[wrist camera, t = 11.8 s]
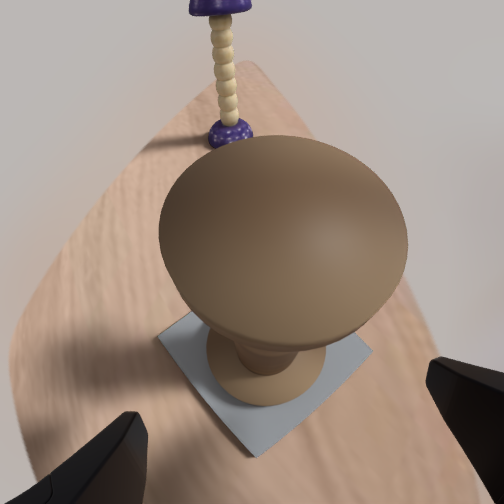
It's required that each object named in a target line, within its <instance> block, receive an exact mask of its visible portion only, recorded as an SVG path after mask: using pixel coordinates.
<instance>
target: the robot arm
mask: <svg viewBox="0 0 504 504" xmlns="http://www.w3.org/2000/svg"><path fill="white" fill-rule="evenodd" d="M426 386H427V388H428V390H429V392H430V394H431V396H432V398H433V400H434V402H435V404H436V406H437V408H438V410H439V412H440V414H441V415H442V417H443V419H444V421H445V422H446V424H447V426H448V427H449V429H450V430H451V432H452V433H453V435H454V436H455V438H456V439H457V441H458V443H459V444H460V446H461V447H462V449H463V451H464V452H465V454H466V455H467V457H468V459H469V460H470V462H471V464H472V465H473V467H474V469H475V470H476V472H477V474H478V475H479V477H480V479H481V480H482V482H483V484H484V485H485V487H486V489H487V491H488V492H489V494H490V496H491V498H492V500H493V501H494V503H496V504H504V373H503V372H499V371H495V370H491V369H487V368H483V367H479V366H475V365H471V364H468V363H464V362H460V361H456V360H453V359H449V358H446V357H438V358H435V359H432V360H431V361H430V363H429V367H428V372H427V376H426ZM147 448H148V433H147V430H146V427H145V425H144V423H143V421H142V418H141V416H140V414H139V413H138V412H135V411H126V412H124V413H122V414H121V415H120V416H119V417H118V418H116V419H115V420H114V421H113V422H112V423H111V424H109V425H108V426H107V427H106V428H105V429H103V430H102V431H101V432H100V433H99V434H97V435H96V436H95V437H94V438H93V439H91V440H90V441H89V442H88V443H87V444H85V445H84V446H83V447H82V448H81V449H79V450H78V451H77V452H76V453H75V454H73V455H72V456H71V457H70V458H68V459H67V460H66V461H65V462H63V463H62V464H61V465H60V466H58V467H57V468H56V469H55V470H53V471H52V472H51V473H50V474H48V475H47V476H46V477H44V478H43V479H42V480H41V481H39V482H38V483H37V484H35V485H34V486H32V487H31V488H30V489H28V490H27V491H25V492H23V493H22V494H20V495H19V496H17V497H16V498H14V499H12V500H10V501H8V502H7V503H5V504H142V503H143V496H144V490H145V483H146V472H147Z"/></svg>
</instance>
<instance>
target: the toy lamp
mask: <svg viewBox="0 0 504 504" xmlns="http://www.w3.org/2000/svg"><path fill="white" fill-rule="evenodd" d="M251 7H252V4H251V0H190V4H189V14H190V15H192V16H209V24H210V27H211V28H212V32H211V42H212V44H213V46H214V48H213V51H212V56H213V59H214V61H215V65H214V74H215V76H216V78H217V81H216V90H217V92H218V94H219V96H218V104H219V107H220V109H221V110H220V120H218V121H217V122H216V123H215V124H213V126H212V127H211V129H210V131H209V136H208V140H209V143H210V144H211V146H213V147H214V148H216V149H217V148H219V147H221V146H224V145H226V144H229V143H231V142H235V141H238V140H242V139H247V138H252V137H253V132H252V129H251V127H250V126H249V124H248V123H247V122H245V121H244V120H242V119H240V118H239V112H238V109H237V108H236V107H237V104H238V98H237V95H236V93H235V92H236V88H237V84H236V80H235V78H234V75H235V66H234V63H233V62H232V60H233V57H234V50H233V48H232V46H231V43H232V40H233V34H232V31H231V29H230V27H231V24H232V17H231V14H234V13H240V12H245V11H248V10H249V9H251Z"/></svg>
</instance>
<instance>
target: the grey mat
mask: <svg viewBox="0 0 504 504" xmlns="http://www.w3.org/2000/svg"><path fill="white" fill-rule="evenodd" d="M209 330H210V327H209V326H208V325H206V324H205V323H204V322H203V321H201V320H200V319H199V318H198V317H197V316H196V315H195V314H194V313H193V312H190V313H189V314H188V315H186V316H185V317H183V318H182V319H181V320H179V321H178V322H177V323H175V324H174V325H172V326H171V327H170V328H168V329H167V330H165V331H164V332H163V333H161V334H160V335H159V336H158V338H159V339H160V341H161V342H162V344H163V345H164V346H165V348H166V349H167V351H168V352H169V354H170V355H171V356H172V358H173V359H174V360H175V362H176V363H177V365H178V366H179V367H180V369H181V370H182V371H183V373H184V374H185V375H186V377H187V378H188V379H189V380H190V382H191V383H192V384H193V386H194V387H195V388H196V389H197V391H198V392H199V393H200V394H201V396H202V397H203V398H204V399H205V401H206V402H207V403H208V404H209V406H210V407H211V408H212V409H213V410H214V412H215V413H216V414H217V415H218V416H219V418H220V419H221V420H222V421H223V422H224V423H225V424H226V426H227V427H228V428H229V429H230V430H231V431H232V432H233V434H234V435H235V436H236V437H237V438H238V439H239V440H240V441H241V442H242V443H243V445H244V446H245V447H246V448H247V449H248V450H249V451H250V452H251V453H252V454H253V455H254V456H255V457H256V458H257V457H259V456H260V455H261V454H262V453H264V452H265V451H266V450H268V449H269V448H270V447H272V446H273V445H274V444H275V443H277V442H278V441H279V440H280V439H282V438H283V437H284V436H285V435H286V434H288V433H289V432H290V431H291V430H292V429H294V428H295V427H296V426H297V425H298V424H300V423H301V422H302V421H303V420H304V419H305V418H306V417H308V416H309V415H310V414H311V413H312V412H313V411H314V410H315V409H316V408H317V407H319V406H320V405H321V404H322V403H323V402H324V401H325V400H326V399H327V398H328V397H329V396H330V395H331V394H332V393H333V392H334V391H335V390H336V389H338V388H339V387H340V386H341V385H342V384H343V383H344V382H345V381H346V380H347V379H348V378H349V376H350V375H351V374H352V373H353V372H354V371H355V370H356V369H357V368H358V367H359V366H360V365H361V364H362V363H363V362H364V361H365V360H366V359H367V357H368V356H369V355H370V354H371V353H372V352H373V350H372V349H371V348H370V347H369V346H368V345H367V344H366V343H365V342H364V341H363V340H362V339H361V338H360V337H359V336H358V335H357V334H356V333H355V332H354V333H352V334H350V335H349V336H347V337H345V338H343V339H342V340H340V341H338V342H335V343H332V344H330V345H327V346H326V356H325V362H324V365H323V368H322V370H321V373H320V375H319V376H318V378H317V379H316V381H315V382H314V383H313V385H312V386H311V387H310V388H309V389H308V390H307V391H306V392H304V393H303V394H302V395H300V396H299V397H297V398H295V399H293V400H291V401H289V402H286V403H283V404H280V405H274V406H256V405H252V404H248V403H245V402H242V401H240V400H238V399H236V398H235V397H233V396H232V395H230V394H229V393H228V392H227V391H226V390H225V389H224V388H223V387H222V386H221V385H220V384H219V383H218V382H217V380H216V379H215V377H214V375H213V374H212V372H211V369H210V367H209V364H208V360H207V353H206V343H207V337H208V333H209Z"/></svg>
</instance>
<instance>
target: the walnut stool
mask: <svg viewBox="0 0 504 504" xmlns="http://www.w3.org/2000/svg"><path fill="white" fill-rule="evenodd" d="M159 243H160V250H161V254H162V257H163V260H164V263H165V266H166V268H167V270H168V272H169V274H170V276H171V278H172V280H173V282H174V284H175V286H176V288H177V290H178V291H179V293H180V295H181V297H182V299H183V300H184V301H185V303H186V304H187V305H188V307H189V308H190V309H191V311H192V312H193V313H194V314H195V315H196V316H197V317H198V318H199V319H200V320H201V321H203V322H204V323H205V324H206V325H208V326H209V327H210V330H209V333H208V337H207V343H206V353H207V360H208V364H209V367H210V369H211V372H212V374H213V375H214V377H215V379H216V380H217V382H218V383H219V384H220V385H221V386H222V387H223V388H224V389H225V390H226V391H227V392H228V393H229V394H230V395H232V396H233V397H235V398H236V399H238V400H240V401H242V402H245V403H248V404H252V405H256V406H274V405H280V404H283V403H286V402H289V401H291V400H293V399H295V398H297V397H299V396H300V395H302V394H303V393H304V392H306V391H307V390H308V389H309V388H310V387H311V386H312V385H313V383H314V382H315V381H316V379H317V378H318V376H319V375H320V373H321V370H322V368H323V365H324V362H325V356H326V346H327V345H330V344H332V343H335V342H338V341H340V340H342V339H343V338H345V337H347V336H349V335H350V334H352V333H354V332H355V331H356V330H358V329H359V328H360V327H361V326H363V325H364V324H365V323H366V322H367V321H368V320H369V319H370V318H371V317H372V316H373V315H374V314H375V313H376V312H377V311H378V310H379V309H380V308H381V307H382V306H383V305H384V304H385V303H386V301H387V300H388V299H389V298H390V297H391V295H392V294H393V292H394V291H395V289H396V287H397V286H398V284H399V282H400V279H401V277H402V274H403V272H404V269H405V264H406V260H407V251H408V239H407V229H406V225H405V221H404V217H403V215H402V212H401V210H400V207H399V205H398V203H397V201H396V200H395V198H394V196H393V194H392V193H391V192H390V190H389V189H388V187H387V186H386V185H385V183H384V182H383V181H382V180H381V179H380V178H379V177H378V176H377V175H376V174H375V173H374V172H373V171H372V170H371V169H370V168H369V167H367V166H366V165H365V164H363V163H362V162H361V161H359V160H358V159H356V158H355V157H353V156H351V155H350V154H348V153H346V152H344V151H342V150H340V149H338V148H335V147H333V146H330V145H328V144H325V143H322V142H319V141H315V140H311V139H307V138H301V137H295V136H283V135H274V136H259V137H252V138H247V139H242V140H238V141H235V142H231V143H229V144H226V145H224V146H221V147H219V148H217V149H215V150H213V151H211V152H209V153H207V154H206V155H204V156H203V157H201V158H200V159H198V160H197V161H195V162H194V163H193V164H192V165H191V166H189V167H188V168H187V169H186V170H185V171H184V172H183V173H182V174H181V176H180V177H179V178H178V179H177V181H176V182H175V183H174V185H173V186H172V188H171V189H170V191H169V193H168V195H167V197H166V199H165V202H164V205H163V208H162V211H161V215H160V221H159Z"/></svg>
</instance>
